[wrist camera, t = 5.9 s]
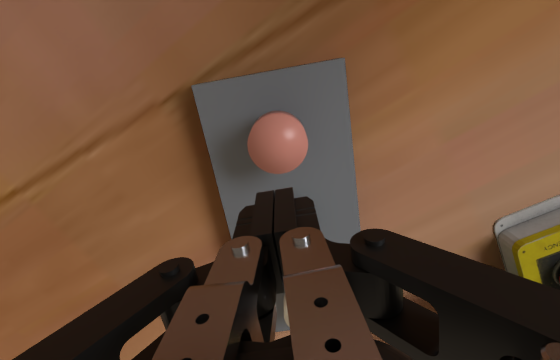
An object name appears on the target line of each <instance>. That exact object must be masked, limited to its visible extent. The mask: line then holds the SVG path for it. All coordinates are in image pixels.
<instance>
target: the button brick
mask: <svg viewBox="0 0 560 360" xmlns="http://www.w3.org/2000/svg"><path fill="white" fill-rule="evenodd" d="M247 147H248V152H249V155H250V157H251V159H252V161H253V162H254V163H255V164H256V165H257V166H258V167H259V168H260V169H262V170H264V171H266V172H268V173H273V174H283V173H287V172H290V171H292V170H294V169H295V168H297V167H298V166H299V165H300V164H301V163H302V162H303V160H304V158H305V156H306V154H307V150H308V139H307V135H306V132H305V130H304V127H303V125H302V123H301V122H300V121H299V120H298V118H296V117H295V116H294V115H292V114H290V113H288V112H285V111H271V112H268V113H265V114H263V115H262V116H261V117H259V118H258V119H257V120H256V122H255V123H254V125H253V126H252V129H251V131H250V134H249V137H248V142H247Z"/></svg>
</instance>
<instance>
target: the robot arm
mask: <svg viewBox="0 0 560 360" xmlns="http://www.w3.org/2000/svg"><path fill="white" fill-rule="evenodd" d="M284 289H285V297H286V304H287V311H288V319H289V326H290V334H291V335H289V336H286V337H283V338H281V339H278V340H275V341H274V339H275V330H276V320H277V308H276V304H275V303H276V294H280V293H284ZM403 289H404V290H406V291H408V292H410V293H412V294H414V295H416V296H418V297H420V298H422V299H424V300H426V301H427V302H429V303H430V304H431V305H432V306H433V307H434V308H435V310H436V311H437V313H438V314H436V313H434V312H432V311H430V310H428V309H426V308H424V307H422V306H420V305H418V304H416V303H414V302H412V301H410V300H408V299H406V298H404V297H403ZM158 316H161V319H162V321H163V324H164V326H165V329H166V331H165V332H164V333H163V334H162V335H161V336H159V337H158V338H157V339H156V340H155V341H153V342H152V343H151V344H150V345H149V346H147V347H146V348H145V349H144V350H143V351H141V352H140V353H139V354H138V355H137V356H135V357H134V358H133V359H132V360H560V290H558V289H555V288H552V287H549V286H546V285H544V284H541V283H538V282H535V281H532V280H529V279H526V278H523V277H521V276H518V275H515V274H512V273H509V272H506V271H503V270H500V269H497V268H495V267H492V266H489V265H486V264H483V263H480V262H477V261H474V260H471V259H469V258H466V257H463V256H460V255H457V254H454V253H451V252H448V251H445V250H443V249H440V248H437V247H434V246H431V245H428V244H425V243H422V242H420V241H417V240H414V239H411V238H408V237H405V236H402V235H399V234H396V233H394V232H391V231H388V230H383V229H367V230H363V231H360V232H358V233H356V234H354V235H353V236H352V237H351V239H350V244H347V243H336V242H332V241H330V240H328V239H326V238H325V237H324V235H323V233H322V232H321V230H320V226H319V222H318V218H317V214H316V210H315V206H314V202H313V200H312V199H310V198H309V197H307V196H305V197H299V198H294V192H293V187H289V188H283V189H277V190H275V191H274V190H271V191H265V192H259V193H256V199H255V205H249V206H245V207H244V208H243V209H242V210H241V211H240V212H239V215H238V220H237V223H236V227H235V231H234V234H233V238H232V240H230V241H228V242H226V243H225V244H224V245H222V247H221V248H220V249H219V252H218V254H217V256H216V258H215V261H214V262H211V263H209V264H206V265H203V266H200V267H198V268H195V266H194V263H193V261H192V260H191V259H189V258H184V257H180V258H174V259H170V260H167V261H165V262H163V263H161V264H159V265H158V266H156V267H154V268H153V269H151V270H150V271H148V272H147V273H145V274H144V275H142V276H141V277H139V278H138V279H136V280H134V281H133V282H131V283H130V284H128V285H127V286H125V287H124V288H122V289H121V290H119V291H117V292H116V293H114V294H113V295H111V296H110V297H108V298H107V299H105V300H104V301H102V302H100V303H99V304H97V305H96V306H94V307H93V308H91V309H90V310H88V311H87V312H85V313H83V314H82V315H80V316H79V317H77V318H76V319H74V320H73V321H71V322H70V323H68V324H66V325H65V326H63V327H62V328H60V329H59V330H57V331H56V332H54V333H53V334H51V335H49V336H48V337H46V338H45V339H43V340H42V341H40V342H39V343H37V344H36V345H34V346H32V347H31V348H29V349H28V350H26V351H25V352H23V353H22V354H20V355H19V356H17V357H16V358H14V359H12V360H120V351H121V349H122V347H123V345H124V344H125V343H126V342H127V341H128V340H129V339H130V338H131V337H133V336H134V335H135V334H136V333H138V332H139V331H140V330H142V329H143V328H144V327H145V326H147V325H148V324H149V323H151V322H152V321H153V320H154V319H156V318H157V317H158ZM371 332H372V333H373V334H375V335H376V336H378V337H379V338H381V339H382V340H384V341H385V342H387V343H388V344H390V345H391V346H390V345H388V344H386V343H383V342H380V341H377V340H374V339H373V337H372V335H371Z"/></svg>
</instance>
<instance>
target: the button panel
mask: <svg viewBox="0 0 560 360" xmlns="http://www.w3.org/2000/svg"><path fill="white" fill-rule="evenodd" d="M192 90H193V94H194V98H195V102H196V105H197V109H198V113H199V117H200V121H201V125H202V128H203V132H204V136H205V140H206V144H207V147H208V151H209V155H210V159H211V163H212V167H213V170H214V174H215V178H216V182H217V186H218V189H219V193H220V197H221V201H222V205H223V209H224V212H225V216H226V220H227V224H228V228H229V232H230V235H231V239H232V238H233V234H234V231H235V227H236V223H237V220H238V215H239V212H240V211H241V210H242V209H243V208H244V207H245V206H249V205H255V199H256V193H259V192H265V191H271V190H274V191H275V190H277V189H283V188H289V187H293V192H294V198H299V197H305V196H307V197H309V198H310V199H312V200H313V202H314V206H315V210H316V214H317V218H318V222H319V226H320V230H321V232H322V233H323V235H324V237H325V238H326V239H328V240H330V241H332V242H336V243H347V244H350V239H351V237H352V236H353V235H354V234H356V233H358V232H360V221H359V210H358V199H357V188H356V177H355V166H354V155H353V144H352V133H351V122H350V111H349V101H348V90H347V79H346V68H345V58H337V59H332V60H326V61H321V62H315V63H310V64H304V65H299V66H293V67H288V68H282V69H277V70H271V71H266V72H260V73H255V74H249V75H244V76H238V77H233V78H227V79H222V80H216V81H211V82H205V83H200V84H196V85H192ZM271 111H285V112H288V113H290V114H292V115H294V116H295V117H296V118H298V120H299V121H300V122H301V123H302V125H303V127H304V130H305V132H306V135H307V139H308V150H307V154H306V156H305V158H304V160H303V162H302V163H301V164H300V165H299V166H298V167H297V168H295V169H294V170H292V171H290V172H287V173H283V174H273V173H268V172H266V171H264V170H262V169H260V168H259V167H258V166H257V165H256V164H255V163H254V162H253V161H252V159H251V157H250V155H249V152H248V147H247V142H248V137H249V134H250V131H251V129H252V126H253V125H254V123H255V122H256V120H257V119H258V118H259V117H261V116H262V115H263V114H265V113H268V112H271ZM284 295H285V289H284V293H280V294H276V303H275V304H276V308H277V320H276V330H275V332H279V331H287V330H290V327H289V326H288V325H287V324H286V322H285V320H284Z"/></svg>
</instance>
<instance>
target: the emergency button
mask: <svg viewBox="0 0 560 360" xmlns="http://www.w3.org/2000/svg"><path fill="white" fill-rule="evenodd" d="M494 232H495V236H496V239H497V243H498V246H499V249H500V253H501V256H502V260H503V263H504V267H505V270H506V272H509V273H512V274H515V275H518V276H521V277H523V278H526V279H529V280H532V281H535V282H538V283H541V284H544V285H546V286H549V287H552V288H555V289H558V290H560V195H557V196H555V197H552V198H550V199H547V200H545V201H542V202H539V203H537V204H534V205H532V206H529V207H527V208H524V209H522V210H519V211H517V212H514V213H512V214H509V215H507V216H504V217H502V218H500V219H498V220H497V221H496V223H495V224H494Z"/></svg>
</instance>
